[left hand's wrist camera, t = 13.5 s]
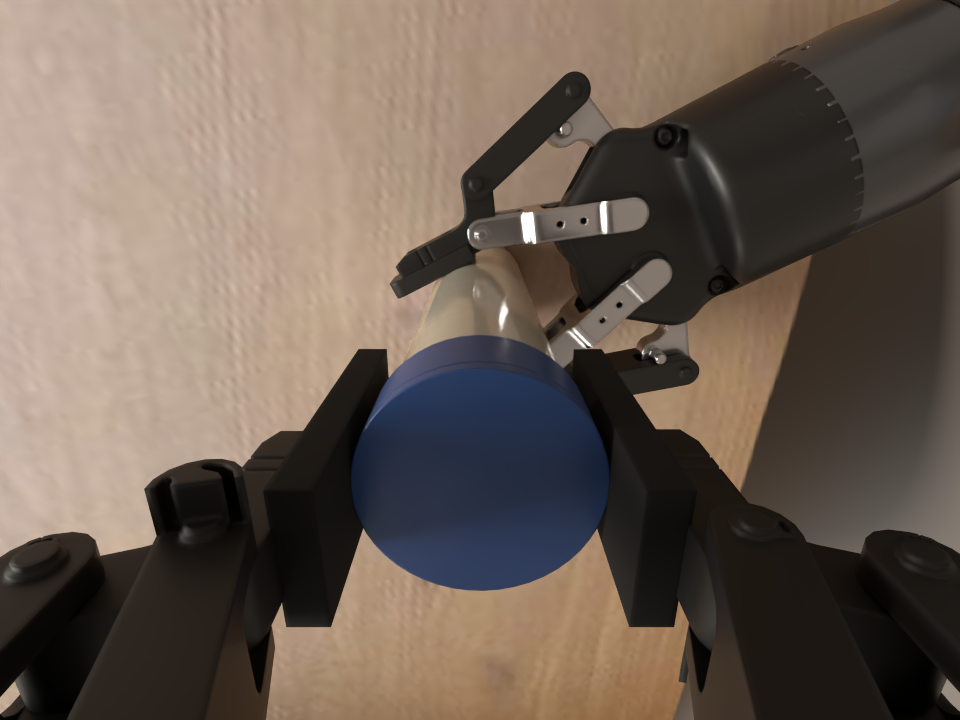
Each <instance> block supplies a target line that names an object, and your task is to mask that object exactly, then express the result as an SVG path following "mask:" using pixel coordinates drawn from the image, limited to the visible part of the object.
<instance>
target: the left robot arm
mask: <svg viewBox="0 0 960 720" xmlns="http://www.w3.org/2000/svg"><path fill="white" fill-rule="evenodd" d="M388 379H389V377H388V362H387V349H359V350H358V351H357V352H356V354H355V355H354V357H353V358H352V360H351V361H350V363H349V364H348V366H347V367H346V369H345V370H344V372H343V373H342V375H341V376H340V378H339V379H338V380H337V382H336V383H335V385H334V386H333V388H332V389H331V391H330V392H329V394H328V395H327V397H326V398H325V400H324V401H323V403H322V404H321V406H320V407H319V409H318V410H317V411H316V413H315V414H314V416H313V417H312V419H311V420H310V422H309V423H308V425H307V426H306V428H305V429H304V431H280V432H279V433H277V434H275V435H274V436H272V437H271V438H269V439H267V440H266V441H264V442H263V443H262V444H261V445H260V446H259V447H258V449H257V450H256V451H255V452H254V454H253V455H252V456H251V459H249V460H248V461H247V462H246V464H245V465H244V466H243V467H241V466H239V465H238V464H237V463H236V462H233V461H229V460H224V459H205V460H200V461H195V462H190V463H186V464H183V465H181V466H178V467H175V468H173V469H170V470H168V471H166V472H165V473H163V474H161V475H160V476H158V477H156V478H155V479H153V480H152V481H151V482H150V484H149V485H148V486H147V487H146V488H145V489H144V490H145V494H146V497H147V501H148V505H149V509H150V512H151V516H152V520H153V524H154V527H155V531H156V535H157V537H156V539H155V541H154V543H153V545H150V546H146V547H142V548H137V549H132V550H127V551H122V552H118V553H113V554H108V555H103V556H100V553H99V550H98V547H97V544H96V541H95V540H94V539H93V538H92V537H91V536H89V535H88V534H84V533H77V532H69V533H60V534H52V535H48V536H44V537H43V538H41V537H40V538H37V539H34V540H31V541H29V542H27V543H26V544H24V545H22V546H20V547H17V548H15V549H13V550H11V551H9V552H7V553H6V554H4V555H3V556H1V557H0V697H1V696H2V695H3V693H4V692H5V691H6V690H7V689H8V688H9V687H10V686H11V684H12V683H13V682H14V681H15V683H16V685H17V688H18V690H19V692H20V695H19V696H18V698H17V699H16V700H15V701H14V702H13V703H12V705H11V706H9V707H8V708H7V709H6V710H5V711H4V712H2V713H1V714H0V720H266V714H267V706H268V698H269V690H270V682H271V675H272V667H273V659H274V651H275V644H274V637H273V631H272V626H271V625H272V623H273V621H274V619H275V616H276V614H277V612H278V610H279V608H280V605H281V603H282V605H283V611H284V616H285V622H286V627H331V625H332V622H333V619H334V616H335V613H336V610H337V607H338V604H339V601H340V598H341V595H342V591H343V588H344V585H345V582H346V579H347V576H348V573H349V570H350V567H351V564H352V561H353V558H354V555H355V552H356V549H357V545H358V542H359V539H360V536H361V533H362V530H363V526H362V524H361V522H360V521H359V518H358V515H357V513H356V510H355V507H354V504H353V497H352V488H351V477H350V473H351V462H352V458H353V454H354V451H355V447H356V445H357V442H358V440H359V438H360V435H361V433H362V431H363V429H364V427H365V424H366V422H367V420H368V418H369V415H370V413H371V411H372V409H373V406H374V404H375V402H376V400H377V398H378V395H379V393H380V391H381V390H382V388H383V386H384V385H385V383H386V381H387V380H388ZM572 380H573V381H574V382H575V384H576V385H577V387H578V389H579V391H580V393H581V395H582V397H583V399H584V401H585V403H586V405H587V407H588V410H589V412H590V414H591V416H592V418H593V421H594V423H595V425H596V427H597V429H598V432H599V434H600V436H601V438H602V440H603V443H604V446H605V449H606V452H607V455H608V461H609V467H610V481H609V491H608V501H607V505H606V509H605V512H604V515H603V517H602V519H601V521H600V523H599V526H598V528H597V529H598V532H599V535H600V538H601V541H602V545H603V548H604V551H605V554H606V557H607V560H608V563H609V566H610V569H611V572H612V575H613V578H614V581H615V584H616V587H617V591H618V594H619V597H620V600H621V603H622V606H623V609H624V612H625V615H626V618H627V621H628V624H629V627H674V624H675V618H676V612H677V607H678V601H679V602H680V604H681V606H682V609H683V611H684V613H685V615H686V617H687V619H688V622H689V626H688V631H687V636H686V642H685V647H684V653H683V658H682V663H681V669H680V676H679V682H684V683H686V680H687V675H688V673H689V681H690V689H691V696H692V705H693V712H694V720H960V711H958V710H957V709H956V708H955V707H954V706H953V705H952V704H951V703H950V702H949V701H948V700H947V699H946V697H945V696H944V695H943V694H942V693H941V691H942V689H943V686H944V684H945V682H946V680H947V679H948V680H949V681H950V682H951V683H952V684H953V685H954V687H955V688H956V689H957V690H958V691H959V692H960V554H959V553H958V552H956V551H954V550H953V549H951V548H949V547H947V546H945V545H943V544H941V543H938V542H936V541H935V540H933V539H931V538H928V537H925V536H922V535H921V536H919V535H918V534H915V533H911V532H903V531H895V530H882V531H875V532H873V533H871V534H870V535H869V536H868V537H866V539H865V542H864V545H863V549H862V552H861V554H859V553H854V552H849V551H845V550H840V549H835V548H830V547H825V546H820V545H816V544H812V543H808V542H806V540H805V538H804V536H803V534H802V533H801V532H800V530H799V529H798V528H797V527H796V525H795V524H793V523H792V522H791V521H789V520H788V519H786V518H785V517H784V516H782V515H781V514H779V513H776V512H774V511H772V510H769V509H767V508H765V507H762V506H758V505H753V504H749V503H748V502H747V501H746V499H745V498H744V497H743V496H742V494H741V493H740V492H739V491H738V489H737V488H736V487H735V486H734V484H733V483H732V482H731V481H730V479H729V478H728V477H727V476H726V475H725V473H724V472H723V471H722V470H721V469H719V466H718V465H717V463H716V462H715V461H714V460H713V458H710V455H709V453H708V452H707V451H706V450H705V448H704V447H703V446H702V445H701V443H700V442H699V441H698V440H696V439H694V438H693V437H691V436H689V435H688V434H686V433H685V432H683V431H681V430H680V429H655V427H654V426H653V424H652V423H651V421H650V420H649V418H648V417H647V415H646V414H645V412H644V411H643V410H642V408H641V407H640V405H639V404H638V402H637V401H636V399H635V398H634V396H633V395H632V393H631V392H630V390H629V389H628V387H627V386H626V384H625V383H624V381H623V380H622V379H621V377H620V376H619V374H618V373H617V371H616V370H615V368H614V367H613V365H612V364H611V362H610V361H609V359H608V358H607V356H606V355H605V353H604V352H603V351H602V349H574V352H573V367H572Z"/></svg>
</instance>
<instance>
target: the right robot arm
mask: <svg viewBox="0 0 960 720" xmlns="http://www.w3.org/2000/svg"><path fill="white" fill-rule="evenodd" d="M590 92H591V86H590V82H589V80H588V78H587V77H586V76H585V75H584V74H582V73H580V72H570V73H568V74H566V75H565V76H564V77H563V78H561V79H560V80H559V81H558V82H557V83H556V84H555V85H554V86H553V87H552V88H551V89H550V90H549V91H548V92H547V93H546V94H545V95H544V96H543V97H542V98H541V99H540V100H539V101H538V102H537V103H536V104H535V105H534V106H533V107H532V108H531V109H530V110H529V111H528V112H527V113H525V114H524V115H523V116H522V117H521V118H520V119H519V120H518V121H517V122H516V123H515V124H514V125H513V126H512V127H511V128H510V129H509V130H508V131H507V132H506V133H505V134H504V135H503V136H502V137H501V138H500V139H499V140H498V141H497V142H496V143H495V144H494V145H493V146H492V147H491V148H490V149H488V150H487V151H486V152H485V153H484V154H483V155H482V156H481V157H480V158H479V159H478V160H477V161H476V162H475V163H474V164H473V165H472V166H471V167H470V168H469V169H468V170H467V171H466V172H465V173H464V174H463V176H462V179H461V189H462V195H463V203H464V212H465V214H464V219H463V221H462V222H461V223H460V224H459V225H458V226H457V227H455V228H453V229H451V230H449V231H447V232H445V233H443V234H442V235H440V236H438V237H436V238H434V239H432V240H430V241H428V242H426V243H424V244H422V245H421V246H419V247H417V248H415V249H413V250H411V251H409V252H408V253H407V254H406V255H405V256H404V257H403V259H402V260H401V261H400V262H399V264H398V265H397V266H396V268H397V270H398V272H399V273H400V274H399V275H397V276H396V277H395V278H394V279H393V280H392V281H391V283H390V286H391V287H392V289H393V291H394V293H395V294H396V296H397V298H402V297H404V296H406V295H408V294H410V293H412V292H414V291H416V290H418V289H420V288H422V287H424V286H426V285H428V284H429V283H431V282H433V281H435V280H437V279H439V278H441V277H443V276H445V275H447V274H449V273H451V272H453V271H454V270H456V269H459V268H461V267H463V266H465V265H467V264H469V263H471V262H473V261H475V260H476V253H477V252H479V251H481V250H486V249H493V248H500V247H507V246H513V245H520V244H539V243H546V242H553V241H554V243H555V245H556V247H557V249H558V251H559V252H560V253H561V254H562V255H563V257H564V258H565V259H566V260H567V261H568V263H569V266H570V272H571V279H572V283H573V285H574V287H575V289H576V291H577V293H576V294H575V295H574V296H573V297H572V298H571V299H570V300H569V301H568V302H566V303H565V304H564V305H563V307H562V308H561V309H560V311H559V313H558V315H557V316H556V317H555V318H554V319H553V320H552V321H551V322H550V323H549V324H548V325H546V326H545V327H544V328H543V329H544V331H545V334H546V336H547V339H548V341H549V344H550V346H551V349H552V351H553V354H554V356H555V359H556V361H557V363H558V364H559V365H560V366H561V367H562V368H563V369H564V370H565V371H566V372H567V373H568V374H569V375H570V377H571V378H572V367H573V352H574V349H586V348H591V347H593V346H595V345H596V344H597V343H599V342H600V341H601V340H602V339H603V338H604V337H605V336H606V335H607V334H609V333H610V332H611V331H612V330H613V329H614V328H615V327H616V326H618V325H619V324H620V323H621V322H622V321H623V320H624V319H630V320H636V321H643V322H649V323H656V324H659V325H658V327H657V329H656V330H655V331H654V332H653V333H652V334H650V335H647V336H644V337H643V338H641V339H640V340H639V342H638V343H637V347H636V348H633V349H627V350H622V351H617V352H612V353H607V354H605V355H606V356H607V358H608V359H609V361H610V362H611V364H612V365H613V367H614V368H615V370H616V371H617V373H618V374H619V376H620V377H621V379H622V380H623V381H624V383H625V384H626V386H627V387H628V389H629V390H630V392H631V393H632V395H635V394H640V393H645V392H651V391H656V390H661V389H667V388H672V387H677V386H683V385H688V384H690V383H692V382H693V381H695V380H696V378H697V377H698V375H699V367H698V365H697V363H696V362H695V361H693V360H692V358H691V357H690V355H689V345H688V331H687V321H689V320H690V319H692V318H693V317H694V316H695V315H696V314H697V313H698V311H699V310H700V309H701V308H702V307H703V306H704V305H705V304H706V303H707V302H708V301H710V300H711V299H712V298H714V297H716V296H718V295H720V294H723V293H726V292H729V291H732V290H734V289H737V288H739V287H742V286H744V285H746V284H748V283H751V282H753V281H755V280H757V279H759V278H761V277H764V276H766V275H768V274H770V273H772V272H774V271H777V270H779V269H781V268H783V267H785V266H787V265H790V264H792V263H794V262H796V261H798V260H800V259H803V258H805V257H807V256H809V255H811V254H814V253H816V252H818V251H820V250H822V249H824V248H826V247H829V246H831V245H833V244H835V243H837V242H840V241H841V240H844V239H846V238H848V237H850V236H852V235H854V234H857V233H859V232H861V231H863V230H865V229H867V228H869V227H872V226H874V225H876V224H878V223H880V222H882V221H885V220H887V219H889V218H891V217H893V216H895V215H898V214H900V213H902V212H904V211H906V210H908V209H910V208H911V207H913V206H915V205H917V204H918V203H920V202H922V201H924V200H925V199H927V198H929V197H930V196H932V195H933V194H935V193H936V192H938V191H939V190H941V189H943V188H944V187H946V186H948V185H949V184H951V183H953V182H955V181H957V180H959V179H960V0H900V1H898V2H896V3H894V4H892V5H890V6H887V7H885V8H883V9H881V10H878V11H876V12H873V13H871V14H868V15H865V16H862V17H860V18H857V19H854V20H851V21H849V22H846V23H844V24H841V25H839V26H836V27H834V28H832V29H830V30H828V31H826V32H824V33H822V34H820V35H818V36H816V37H815V38H813V39H811V40H809V41H807V42H805V43H803V44H801V45H797V46H794V47H792V48H788V49H786V50H784V51H782V52H780V53H779V54H777V55H776V56H774V57H773V58H772V59H770V60H769V62H767V63H765V64H763V65H761V66H759V67H757V68H756V69H754V70H752V71H750V72H748V73H746V74H744V75H742V76H740V77H739V78H737V79H735V80H733V81H731V82H729V83H727V84H725V85H724V86H722V87H720V88H718V89H716V90H714V91H712V92H710V93H708V94H706V95H704V96H703V97H701V98H699V99H697V100H695V101H693V102H691V103H689V104H687V105H685V106H684V107H682V108H680V109H678V110H676V111H674V112H672V113H670V114H668V115H666V116H665V117H663V118H661V119H659V120H657V121H655V122H653V123H651V124H649V125H647V126H645V127H642V128H618V129H615V130H614V129H613V128H612V127H611V125H610V124H609V123H608V121H607V120H606V118H605V117H604V116H603V114H602V113H601V112H600V110H599V109H598V108H597V106H596V105H595V104H594V102H593V101H592V100H591V98H590V97H589V96H590ZM545 141H547V142H548V143H549V144H550V145H551V146H552V147H555V148H563V147H567V146H569V145H571V144H572V143H574V142H576V141H581V142H584V143H586V144H587V145H589V147H590V148H589V150H588V152H587V154H586V155H585V157H584V159H583V161H582V163H581V165H580V167H579V168H578V170H577V172H576V174H575V176H574V178H573V179H572V181H571V183H570V185H569V187H568V189H567V191H566V192H565V194H564V196H563V198H562V200H561V201H557V202H550V203H544V204H537V205H531V206H525V207H521V208H517V209H510V210H504V211H497V212H495V207H494V198H493V190H494V189H495V188H496V187H497V186H498V185H499V184H500V183H501V182H503V181H504V180H505V179H506V178H507V177H508V176H509V175H510V174H511V173H512V172H513V171H514V170H515V169H516V168H517V167H518V166H519V165H520V164H522V163H523V162H524V161H525V160H526V159H527V158H528V157H529V156H530V155H531V154H532V153H533V152H534V151H535V150H536V149H537V148H538V147H540V146H541V145H542V144H543V143H544V142H545ZM600 318H602V319H601V320H600Z"/></svg>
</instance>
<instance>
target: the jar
mask: <svg viewBox="0 0 960 720" xmlns="http://www.w3.org/2000/svg"><path fill="white" fill-rule="evenodd" d="M470 335H493V336H499V337H505V338H510V339H513V340H516V341H520V342H523V343H525V344H527V345H530V346H532V347H534V348H536V349H538V350H540V351H541V352H543V353H545V354H546V355H548V356H549V357H551V358H552V359H553V360H554V361H556V359H555V356H554V354H553V351H552V349H551V346H550V344H549V341H548V339H547V336H546V334H545V331H544V329H543V326H542V324H541V321H540V319H539V316H538V314H537V311H536V309H535V306H534V304H533V301H532V299H531V297H530V294H529V292H528V289H527V287H526V284H525V282H524V279H523V277H522V274H521V272H520V269H519V267H518V264H517V262H516V260H515V259H514V257H513V256H512V255H511V254H510V253H509V252H508V251H507V250H506V249H505V248H504V247H500V248H493V249H486V250H481V251H479V252H477V253H476V260H475V261H473V262H471V263H469V264H467V265H465V266H463V267H461V268H459V269H456V270H454V271H453V272H451V273H449V274H447V275H445V276H443V277H441V278H439V279H437V280H436V282H435V284H434V287H433V289H432V292H431V294H430V297H429V299H428V302H427V304H426V307H425V309H424V312H423V315H422V317H421V320H420V322H419V325H418V327H417V330H416V332H415V335H414V337H413V340H412V342H411V345H410V347H409V350H408V352H407V355H406V357H405V360H404V362H405V361H406V360H407V359H409V358H410V357H411V356H413V355H414V354H416V353H417V352H419V351H421V350H423V349H425V348H427V347H428V346H430V345H433V344H435V343H438V342H441V341H444V340H447V339H451V338H456V337H460V336H470ZM404 362H403V363H404ZM556 362H557V361H556Z"/></svg>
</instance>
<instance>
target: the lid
mask: <svg viewBox="0 0 960 720" xmlns="http://www.w3.org/2000/svg"><path fill="white" fill-rule="evenodd" d="M350 477H351V488H352V497H353V504H354V507H355V510H356V513H357V515H358V518H359V521H360V522H361V524H362V526H363V528H364V530H365V532H366V533H367V535H368V536H369V537H370V539H371V540H372V541H373V543H374V544H375V545H376V546H377V547H378V548H379V549H380V551H381V552H382V553H383V554H384V555H385V556H387V557H388V558H389V559H390V560H392V561H393V562H394V563H395V564H396V565H398V566H400V567H401V568H403V569H404V570H406V571H407V572H409V573H411V574H413V575H415V576H417V577H419V578H421V579H423V580H426V581H429V582H432V583H435V584H437V585H442V586H446V587H450V588H455V589H463V590H478V591H486V590H499V589H505V588H511V587H516V586H519V585H522V584H526V583H529V582H532V581H534V580H537V579H539V578H542V577H544V576H546V575H548V574H549V573H551V572H553V571H555V570H557V569H558V568H560V567H561V566H562V565H564V564H565V563H567V562H568V561H569V560H570V559H572V558H573V557H574V556H575V555H576V554H577V553H578V552H579V551H580V550H581V549H582V548H583V547H584V546H585V544H586V543H587V542H588V541H589V540H590V538H591V537H592V535H593V534H594V532H595V531H596V529H597V528H598V526H599V523H600V521H601V519H602V517H603V515H604V512H605V509H606V505H607V501H608V491H609V481H610V467H609V461H608V455H607V452H606V449H605V446H604V443H603V440H602V438H601V436H600V434H599V432H598V429H597V427H596V425H595V423H594V421H593V418H592V416H591V414H590V412H589V410H588V407H587V405H586V403H585V401H584V399H583V397H582V395H581V393H580V391H579V389H578V387H577V385H576V384H575V382H574V381H573V380H572V378H571V377H570V375H569V374H568V373H567V372H566V371H565V370H564V369H563V368H562V367H561V366H560V365H559V364H558V363H557V362H556V361H554V360H553V359H552V358H551V357H549V356H548V355H546V354H545V353H543V352H541V351H540V350H538V349H536V348H534V347H532V346H530V345H527V344H525V343H523V342H520V341H516V340H513V339H510V338H505V337H499V336H493V335H470V336H460V337H456V338H451V339H447V340H444V341H441V342H438V343H435V344H433V345H430V346H428V347H427V348H425V349H423V350H421V351H419V352H417V353H416V354H414V355H413V356H411V357H410V358H409V359H407V360H406V361H405V362H404V363H403V364H402V365H400V366H399V367H398V368H397V369H396V370H395V371H394V373H393V374H392V375H391V376H390V377H389V379H388V380H387V381H386V383H385V385H384V386H383V388H382V390H381V391H380V393H379V395H378V398H377V400H376V402H375V404H374V406H373V409H372V411H371V413H370V415H369V418H368V420H367V422H366V424H365V427H364V429H363V431H362V433H361V435H360V438H359V440H358V442H357V445H356V447H355V451H354V454H353V458H352V462H351V473H350Z"/></svg>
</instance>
